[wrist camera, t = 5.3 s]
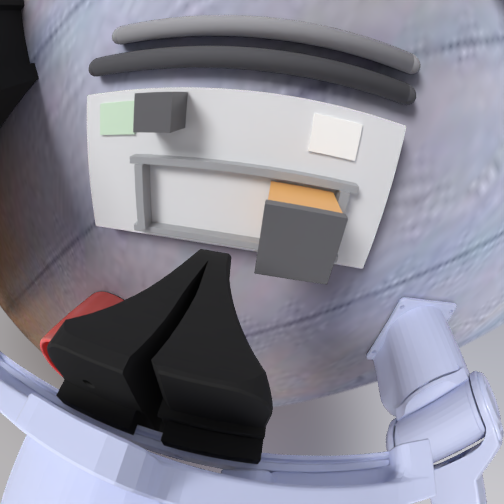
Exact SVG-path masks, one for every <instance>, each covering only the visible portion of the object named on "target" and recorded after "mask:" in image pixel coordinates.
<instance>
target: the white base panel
mask: <svg viewBox="0 0 504 504" xmlns="http://www.w3.org/2000/svg"><path fill="white" fill-rule="evenodd" d="M405 130H406V126H404V125H401V124H399V123H396V122H393V121H390V120H387V119H384V118H380V117H377V116H374V115H371V114H367V113H364V112H360V111H357V110H353V109H349V108H345V107H341V106H337V105H333V104H328V103H324V102H319V101H314V100H309V99H304V98H299V97H293V96H287V95H280V94H273V93H265V92H257V91H247V90H236V89H221V88H192V87H178V88H149V89H134V90H123V91H114V92H106V93H99V94H92V95H87V147H88V164H89V176H90V186H91V195H92V203H93V210H94V217H95V223H96V226H100V227H106V228H113V229H119V230H125V231H131V232H138V233H144V234H150V235H156V236H163V237H169V238H175V239H181V240H188V241H194V242H200V243H206V244H213V245H219V246H225V247H231V248H237V249H244V250H250V251H256V252H258V246H259V240H260V233H261V226H262V220H263V213H264V206H265V201H266V200H268V195H269V190H270V184H271V181H275V182H281V183H287V184H293V185H298V186H304V187H309V188H315V189H320V190H325V191H330V192H333V193H334V195H335V197H336V200H337V202H338V204H339V206H340V208H341V211H342V213H344V214H346V215H347V217H348V221H347V224H346V228H345V231H344V234H343V237H342V241H341V244H340V247H339V250H338V253H337V256H336V259H335V262H334V264H337V265H343V266H349V267H355V268H361V269H363V267H364V264H365V262H366V259H367V257H368V254H369V251H370V249H371V246H372V243H373V240H374V238H375V235H376V232H377V229H378V226H379V223H380V220H381V217H382V214H383V211H384V208H385V205H386V202H387V199H388V195H389V192H390V189H391V185H392V182H393V178H394V175H395V171H396V167H397V163H398V160H399V156H400V152H401V147H402V143H403V139H404V134H405Z"/></svg>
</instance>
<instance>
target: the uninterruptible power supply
mask: <svg viewBox="0 0 504 504" xmlns="http://www.w3.org/2000/svg"><path fill="white" fill-rule="evenodd" d="M23 6H24V0H0V128H1V126H2V125H3V123H4V122H5V120H6V119H7V118H8V116H9V115H10V113H11V112H12V111H13V109H14V108H15V107H16V105H17V104H18V103H19V101H20V100H21V99H22V98H23V96H24V95H25V94H26V93H27V91H28V90H29V89H30V88H31V87H32V85H33V84H34V83H35V82H36V81H37V80H38V74H37V71H36V67H35V63H30V61H29V56H28V52H27V47H26V42H25V36H24V30H23V23H22V16H21V10H22V8H23Z"/></svg>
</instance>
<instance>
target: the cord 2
mask: <svg viewBox="0 0 504 504" xmlns="http://www.w3.org/2000/svg"><path fill="white" fill-rule="evenodd" d="M186 67H210V68H234V69H248V70H258V71H267V72H275V73H283V74H289V75H295V76H301V77H307V78H312V79H317V80H322V81H326V82H331V83H335V84H339V85H343V86H347V87H351V88H354V89H358V90H361V91H365V92H368V93H372V94H375V95H378V96H381V97H384V98H387V99H390V100H393V101H395V102H398V103H401V104H404V105H410V104H412V103H413V102H414V101H415V99H416V92H415V90H414V88H413V87H412V86H411V85H409V84H407V83H405V82H402V81H400V80H397V79H394V78H392V77H389V76H386V75H383V74H380V73H377V72H374V71H371V70H368V69H364V68H361V67H358V66H354V65H350V64H347V63H343V62H339V61H335V60H331V59H326V58H322V57H317V56H312V55H306V54H301V53H295V52H288V51H281V50H273V49H264V48H253V47H238V46H181V47H166V48H156V49H147V50H139V51H132V52H126V53H120V54H115V55H109V56H105V57H100V58H96V59H94V60H93V61H92V62H91V63H90V65H89V73H90V74H91V75H93V76H103V75H109V74H115V73H122V72H130V71H138V70H149V69H162V68H186Z"/></svg>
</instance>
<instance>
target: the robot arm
mask: <svg viewBox="0 0 504 504" xmlns="http://www.w3.org/2000/svg"><path fill="white" fill-rule="evenodd" d="M230 266H231V256H230V255H229V254H227V253H221V252H215V251H209V250H203V249H200V250H199V251H198V252H196V253H195V254H194V255H193V256H191V257H190V258H189V259H188V260H187V261H185V262H184V263H183V264H182V265H180V266H179V267H178V268H176V269H175V270H174V271H172V272H171V273H170V274H168V275H167V276H166V277H164V278H163V279H161V280H160V281H158V282H157V283H156V284H154V285H152V286H151V287H149V288H147V289H146V290H144V291H142V292H140V293H138V294H137V295H135V296H133V297H131V298H128V299H126V300H124V301H122V302H120V303H117V304H115V305H113V306H110V307H108V308H105V309H102V310H99V311H96V312H93V313H90V314H86V315H82V316H79V317H75V318H71V319H66V320H65V321H64V322H63V324H62V325H61V326H60V328H59V329H58V331H57V332H56V333H55V335H54V336H53V338H52V339H51V341H50V342H49V344H48V345H47V352H48V355H49V357H50V359H51V361H52V362H53V364H54V365H55V367H56V368H57V370H58V371H59V372H60V374H61V375H62V377H63V378H64V379H65V380H64V382H63V384H62V386H61V387H60V389H57V388H55V387H54V386H52V385H50V384H48V383H47V382H45V381H43V380H42V379H40V378H38V377H37V376H35V375H34V374H32V373H30V372H29V371H27V370H26V369H24V368H23V367H21V366H20V365H18V364H17V363H16V362H14V361H13V360H11V359H10V358H9V357H7V356H6V355H5V354H3V353H2V352H0V412H1V413H2V414H3V415H4V416H5V417H6V418H8V419H9V420H10V421H11V422H12V423H14V424H15V425H16V426H17V427H18V428H19V429H20V430H21V431H23V432H24V433H25V434H27V435H26V437H25V439H24V442H23V444H22V446H21V449H20V451H19V453H18V456H17V458H16V460H15V463H14V466H13V468H12V471H11V474H10V476H9V479H8V482H7V485H6V488H5V491H4V494H3V497H2V500H1V504H412V503H416V502H419V501H422V500H425V499H428V498H430V499H431V504H487V500H486V493H485V487H484V481H483V475H482V473H483V471H484V470H485V469H486V468H487V466H488V465H489V464H490V462H491V461H492V459H493V458H494V456H495V455H496V453H497V452H498V450H499V449H500V447H501V445H502V438H503V434H504V432H503V428H502V424H501V418H500V413H499V409H498V405H497V402H496V399H495V396H494V394H493V391H492V389H491V386H490V384H489V382H488V380H487V378H486V377H485V375H484V374H483V373H482V372H477V371H473V372H472V373H471V374H470V373H469V371H468V368H467V366H466V363H465V361H464V358H463V356H462V354H461V351H460V349H459V347H458V344H457V342H456V340H455V338H454V336H453V333H452V331H451V329H450V327H449V325H448V323H447V321H448V320H449V318H450V317H451V315H452V314H453V312H454V311H455V309H456V307H457V306H456V304H455V303H450V302H442V301H433V300H424V299H416V298H408V297H403V298H401V299H400V300H399V302H398V304H397V306H396V307H395V309H394V311H393V313H392V314H391V316H390V318H389V320H388V321H387V323H386V325H385V326H384V328H383V330H382V331H381V333H380V334H379V336H378V338H377V339H376V341H375V342H374V344H373V345H372V347H371V349H370V350H369V352H368V353H367V355H366V358H367V359H371V360H374V365H375V370H376V375H377V381H378V386H379V392H380V397H381V401H382V403H383V405H384V407H385V408H386V410H387V411H388V412H389V413H390V414H392V415H393V416H396V418H395V419H393V420H392V421H391V423H390V425H389V428H388V432H387V435H386V448H387V451H386V452H378V453H369V454H357V455H339V456H301V455H282V454H270V453H262V444H263V439H264V437H265V429H266V425H267V423H268V421H269V419H270V417H271V414H272V410H273V406H272V396H271V391H270V387H269V383H268V379H267V375H266V372H265V371H264V369H263V368H262V366H261V365H260V363H259V361H258V360H257V358H256V356H255V355H254V353H253V351H252V349H251V347H250V345H249V343H248V341H247V339H246V337H245V335H244V332H243V330H242V328H241V325H240V323H239V320H238V317H237V314H236V311H235V307H234V304H233V299H232V295H231V289H230V282H229V277H230ZM402 305H403V306H402ZM484 437H485V438H484ZM482 438H484V440H483V441H482V442H481V443H479V444H477V445H476V446H474V447H472V448H470V449H468V450H466V451H464V452H462V453H461V454H459V455H457V456H455V457H453V458H450V459H448V460H446V461H444V462H442V463H439V464H436V465H433V463H435V462H437V461H439V460H441V459H444V458H446V457H448V456H450V455H452V454H454V453H456V452H458V451H460V450H462V449H464V448H466V447H468V446H470V445H471V444H473V443H475V442H477V441H479V440H480V439H482ZM146 449H147V450H150V451H153V452H156V453H159V454H163V455H166V456H169V457H173V458H176V459H180V460H184V461H188V462H192V463H196V464H201V465H205V466H210V467H215V468H221V469H223V470H222V471H221V473H217V472H212V471H208V470H205V469H201V468H197V467H194V466H190V465H187V464H184V463H180V462H177V461H174V460H171V459H168V458H165V457H163V456H159V455H157V454H154V453H151V452H149V451H147V450H146Z"/></svg>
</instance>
